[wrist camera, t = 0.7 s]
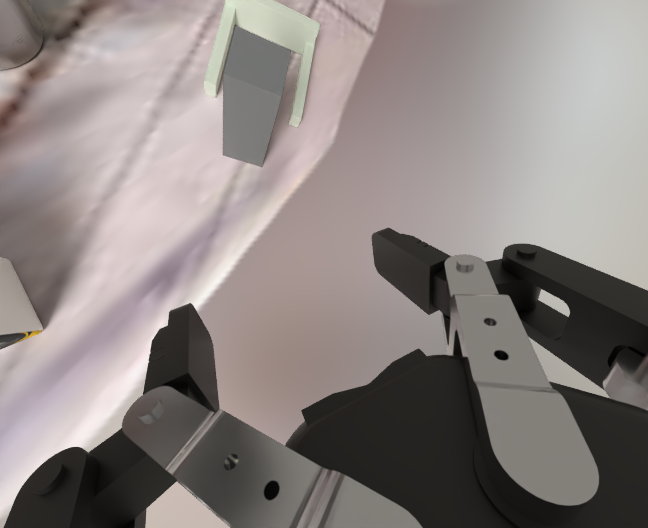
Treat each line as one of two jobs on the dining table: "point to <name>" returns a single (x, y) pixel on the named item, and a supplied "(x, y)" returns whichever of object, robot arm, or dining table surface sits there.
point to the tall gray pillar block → (251, 95)
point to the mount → (273, 24)
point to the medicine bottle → (15, 308)
